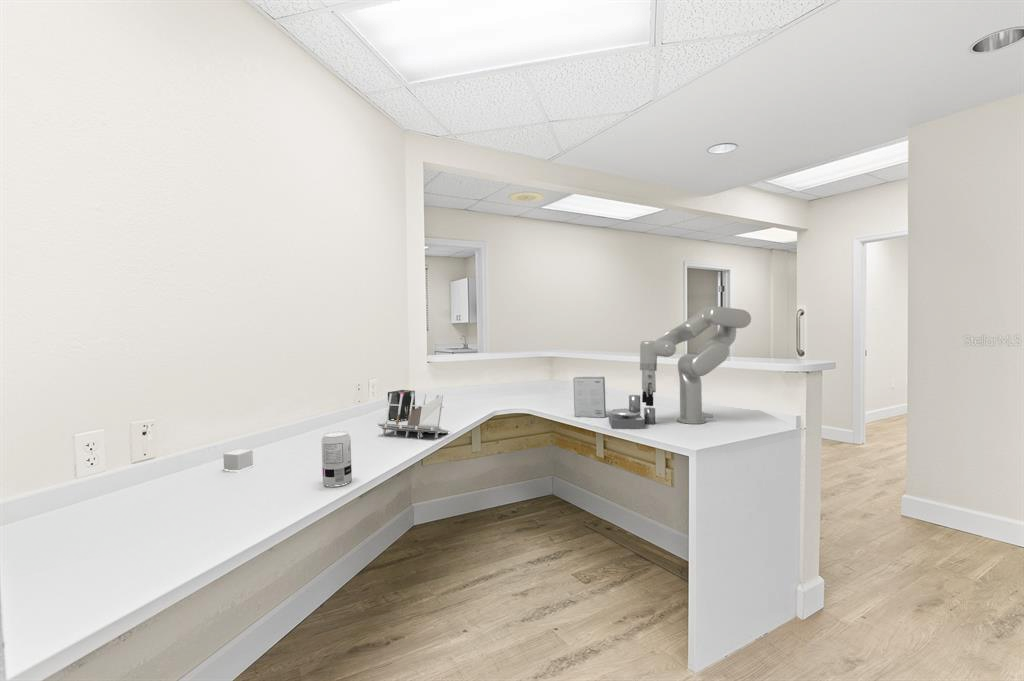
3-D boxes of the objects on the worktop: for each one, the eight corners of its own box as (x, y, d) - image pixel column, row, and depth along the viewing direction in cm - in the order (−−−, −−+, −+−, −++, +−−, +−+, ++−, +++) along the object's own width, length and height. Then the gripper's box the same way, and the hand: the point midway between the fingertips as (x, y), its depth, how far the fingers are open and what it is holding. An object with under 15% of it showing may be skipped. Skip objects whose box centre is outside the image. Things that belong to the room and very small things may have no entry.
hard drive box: (606, 414, 233) (605, 376, 233) (605, 417, 226) (604, 378, 225) (575, 414, 237) (575, 376, 237) (574, 416, 230) (573, 377, 229)
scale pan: (638, 414, 212) (638, 408, 212) (642, 419, 200) (642, 413, 200) (610, 414, 214) (609, 408, 214) (612, 419, 201) (612, 413, 201)
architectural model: (426, 437, 180) (433, 385, 186) (366, 433, 190) (375, 383, 196) (449, 442, 198) (456, 394, 204) (394, 438, 208) (401, 392, 214)
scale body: (639, 422, 213) (639, 413, 213) (644, 428, 199) (644, 419, 199) (609, 422, 215) (608, 413, 215) (611, 428, 201) (611, 419, 201)
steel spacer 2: (654, 422, 213) (654, 407, 212) (656, 424, 208) (656, 409, 208) (643, 422, 213) (643, 407, 213) (645, 424, 208) (645, 409, 208)
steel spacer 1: (639, 410, 208) (639, 394, 208) (641, 412, 204) (641, 396, 203) (628, 410, 209) (628, 395, 209) (629, 412, 204) (629, 396, 204)
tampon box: (400, 421, 228) (399, 393, 228) (387, 420, 233) (387, 392, 233) (416, 418, 237) (415, 390, 237) (403, 416, 242) (402, 389, 242)
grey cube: (224, 471, 152) (223, 453, 152) (239, 466, 158) (238, 449, 158) (238, 472, 150) (237, 454, 150) (253, 467, 156) (252, 450, 156)
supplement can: (317, 484, 136) (315, 435, 136) (342, 477, 143) (340, 429, 142) (332, 489, 131) (330, 438, 131) (357, 481, 138) (355, 432, 137)
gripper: (660, 369, 201) (659, 407, 201) (653, 366, 218) (652, 401, 218) (643, 368, 202) (642, 406, 202) (637, 365, 219) (636, 401, 219)
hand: (647, 404), depth 210 cm, fingers open, 9 cm apart
